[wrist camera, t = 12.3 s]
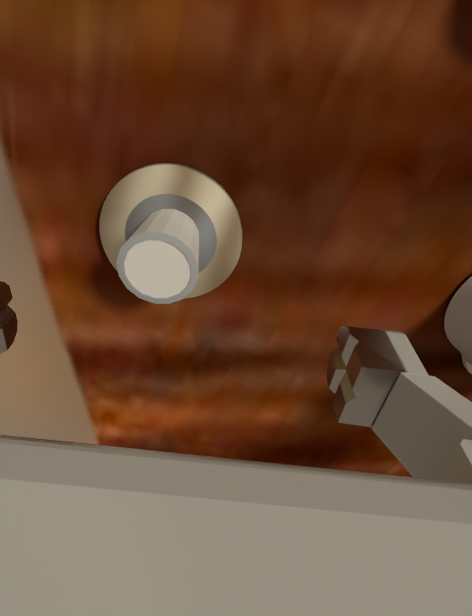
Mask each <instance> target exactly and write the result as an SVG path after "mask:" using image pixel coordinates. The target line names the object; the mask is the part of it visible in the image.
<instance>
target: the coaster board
mask: <svg viewBox="0 0 472 616" xmlns="http://www.w3.org/2000/svg"><path fill="white" fill-rule="evenodd" d="M161 209H175V210H178V211H180V212H183V213H185V214H186V215H187V216H189V217H190V218H191V219H192V220H193V221H194V223H195V225H196V227H197V229H198V231H199V278H198V280H197V283H196V285H195V287H194V289H193V291H192V292H191V293H189V294H188V295H187V296H186V297H185V298H192V297H196V296H200V295H203V294H205V293H208V292H209V291H211V290H213V289H215V288H216V287H218V286H219V285H220V284H222V283H223V282H224V281H225V280H226V279H227V278H228V277H229V275H230V274H231V273H232V271H233V270H234V268H235V266H236V264H237V262H238V259H239V256H240V252H241V247H242V226H241V220H240V217H239V213H238V210H237V208H236V206H235V204H234V202H233V200H232V199H231V197H230V196H229V194H228V193H227V192H226V191H225V190H224V188H223V187H222V186H221V185H220V184H219V183H217V182H216V181H215V180H214V179H213V178H211V177H210V176H208V175H207V174H205V173H203V172H201V171H199V170H197V169H195V168H192V167H189V166H186V165H182V164H177V163H155V164H150V165H146V166H143V167H140V168H138V169H136V170H134V171H132V172H130V173H129V174H127V175H126V176H125V177H123V178H122V179H121V180H120V181H119V182H118V183H117V184H116V185H115V186H114V188H113V189H112V190H111V192H110V193H109V194H108V196H107V198H106V200H105V202H104V204H103V207H102V210H101V214H100V222H99V230H100V238H101V242H102V246H103V248H104V251H105V253H106V255H107V257H108V259H109V261H110V262H111V264H112V265H113V267H114V268H115V269H116V270H117V271H118V268H117V263H116V261H117V258H118V254H119V251H120V248H121V247H122V246H123V245H124V243H125V242H126V241H127V240H128V239H129V238H130V237H131V236H132V235H133V233H134V232H135V231H136V230H137V229H138V228H139V227H140V226H141V225H142V223H143V222H144V221H145V220H146V219H147V218H148V217H149V216H150V215H151V214H152V213H153V212H156V211H158V210H161ZM185 298H184V299H185Z"/></svg>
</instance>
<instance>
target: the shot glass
mask: <svg viewBox="0 0 472 616" xmlns="http://www.w3.org/2000/svg"><path fill="white" fill-rule="evenodd" d="M116 263H117V268H118V274H119V277H120V279H121V280H122V282H123V283H124V285H125V286H126V288H127V289H128V290H129V291H131V292H132V293H133V294H135V295H136V296H137V297H138V298H140V299H143V300H146V301H149V302H151V303H158V304H170V303H173V302H176V301H179V300H182V299H184V298H185V297H186V296H187V295H188V294H189V293H191V292H192V291H193V289H194V287H195V285H196V283H197V280H198V278H199V231H198V229H197V227H196V225H195V223H194V221H193V220H192V219H191V218H190V217H189V216H187V215H186V214H185V213H183V212H180V211H178V210H175V209H161V210H158V211H156V212H153V213H152V214H151V215H150V216H149V217H148V218H147V219H146V220H145V221H144V222H143V223H142V225H141V226H140V227H139V228H138V229H137V230H136V231H135V232H134V233H133V235H132V236H131V237H130V238H129V239H128V240H127V241H126V242H125V243H124V245H123V246H122V247H121V248H120V251H119V254H118V258H117V261H116Z"/></svg>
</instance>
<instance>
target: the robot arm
mask: <svg viewBox="0 0 472 616" xmlns="http://www.w3.org/2000/svg"><path fill="white" fill-rule="evenodd" d="M11 299H12V294H11V291H10V287H9V285H7V284H6V283H5V282H1V281H0V353H3V352H5V351H7V350H8V349H9V347H10V346H11V345H12V343H13V341H14V338H15V336H16V333H17V318H16V314H15V312H14V311H13V310H12V309H11V308H10V307H9V306H8V303H9V302H10V301H11ZM444 328H445V333H446V336H447V338H448V340H449V341H450V343H451V344H452V345H453V346H454V347H455V348H456V349H457V350H458V351H459V352H460V353H461V355H462V361H463V365H464V367H465V368H466V369H467V370H468V372H469V373H471V374H472V276H471V277H470V278H469V279H468V280H467V281H466V282H465V283H464V284H463V285H462V286H461V287H460V288H459V289H458V291H457V292H456V293H455V295H454V296H453V298H452V299H451V301H450V303H449V305H448V308H447V310H446V314H445V319H444ZM336 339H337V343H338V346H339V347H338V348H337V349H335V350H334V351H332V352H331V355H330V358H329V361H328V366H327V382H328V386H329V389H331V390H332V391H333V392H334V393H335V396H334V399H333V401H332V402H333V406H334V410H335V414H336V418H337V421H338V423H344V424H351V425H359V426H366V427H372V430H373V431H374V432H375V434H376V435H377V436H378V437H379V438H380V439H381V440H382V442H383V443H384V444H385V445H386V446H387V447H388V449H389V450H390V451H391V452H392V453H393V454H394V456H395V457H396V458H397V459H398V460H399V461H400V462H401V464H402V465H403V466H404V467H405V468H406V469H407V471H408V472H409V473H410V474H411V475H412V476H413V477H404V476H394V475H384V474H375V473H365V472H355V471H346V470H336V469H326V468H317V467H307V466H297V465H288V464H278V463H268V462H259V461H249V460H239V459H229V458H220V457H210V456H201V455H191V454H181V453H172V452H162V451H152V450H143V449H133V448H123V447H114V446H104V445H95V444H85V443H74V442H65V441H55V440H46V439H36V438H26V437H16V436H6V435H0V616H472V402H470V401H469V400H467V399H466V398H465V397H463V396H462V395H460V394H459V393H457V392H456V391H455V390H453V389H452V388H450V387H449V386H448V385H446V384H445V383H443V382H442V381H441V380H439V379H438V378H436V377H435V376H429V375H428V373H427V372H426V370H425V368H424V366H423V365H422V363H421V361H420V359H419V358H418V356H417V354H416V352H415V350H414V349H413V347H412V345H411V343H410V342H409V340H408V338H407V336H406V335H405V334H404V333H402V332H398V331H388V330H375V329H366V328H357V327H348V326H342V328H341V329H340V331H339V333H338V336H337V338H336Z"/></svg>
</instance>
